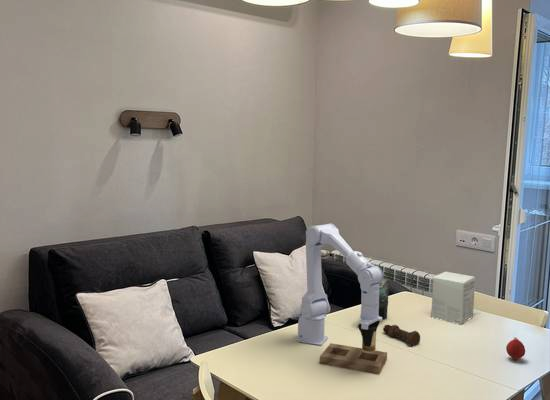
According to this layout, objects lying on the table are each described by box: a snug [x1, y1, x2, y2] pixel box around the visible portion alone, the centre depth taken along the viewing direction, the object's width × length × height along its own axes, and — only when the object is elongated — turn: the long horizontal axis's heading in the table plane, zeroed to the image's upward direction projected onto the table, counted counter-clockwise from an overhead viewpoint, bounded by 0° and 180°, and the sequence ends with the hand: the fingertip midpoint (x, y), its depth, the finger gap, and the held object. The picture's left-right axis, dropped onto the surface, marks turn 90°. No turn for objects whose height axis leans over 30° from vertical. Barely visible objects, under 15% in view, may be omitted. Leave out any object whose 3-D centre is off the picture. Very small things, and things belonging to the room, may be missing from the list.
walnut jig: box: [319, 342, 388, 375], centre depth 175 cm, size 20×12×2 cm, turn 67°
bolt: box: [382, 324, 421, 347], centre depth 194 cm, size 6×5×15 cm
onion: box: [505, 336, 526, 361], centre depth 176 cm, size 6×6×8 cm
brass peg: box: [361, 330, 377, 352], centre depth 172 cm, size 4×4×6 cm
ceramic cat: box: [378, 277, 391, 321], centre depth 210 cm, size 20×6×20 cm, turn 144°
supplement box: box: [430, 271, 476, 325], centre depth 217 cm, size 13×13×18 cm
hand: (369, 343), depth 172 cm, fingers closed on brass peg, 4 cm apart
